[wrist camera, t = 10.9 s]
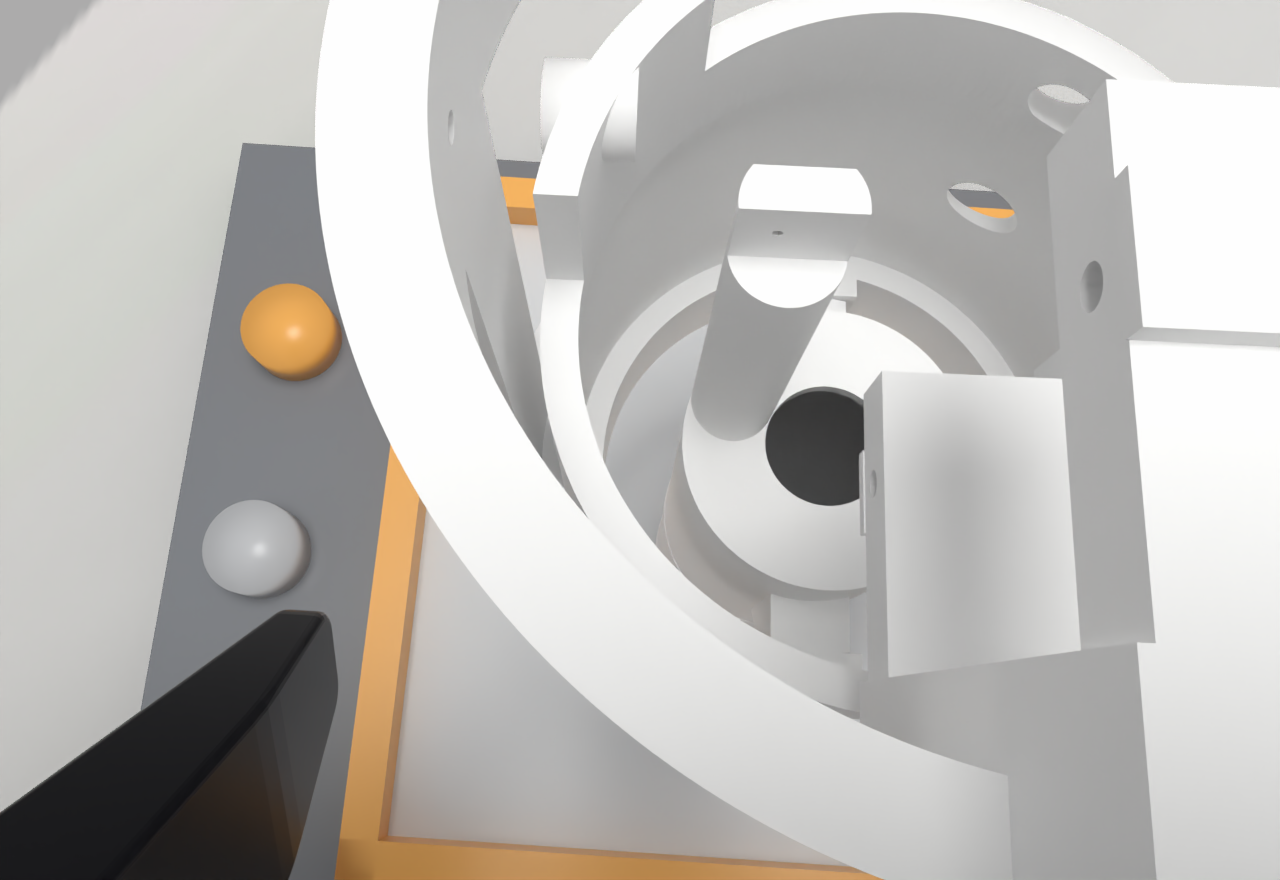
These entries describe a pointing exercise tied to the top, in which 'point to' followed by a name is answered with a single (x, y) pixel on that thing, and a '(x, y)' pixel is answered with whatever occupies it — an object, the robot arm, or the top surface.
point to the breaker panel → (421, 594)
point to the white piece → (855, 410)
